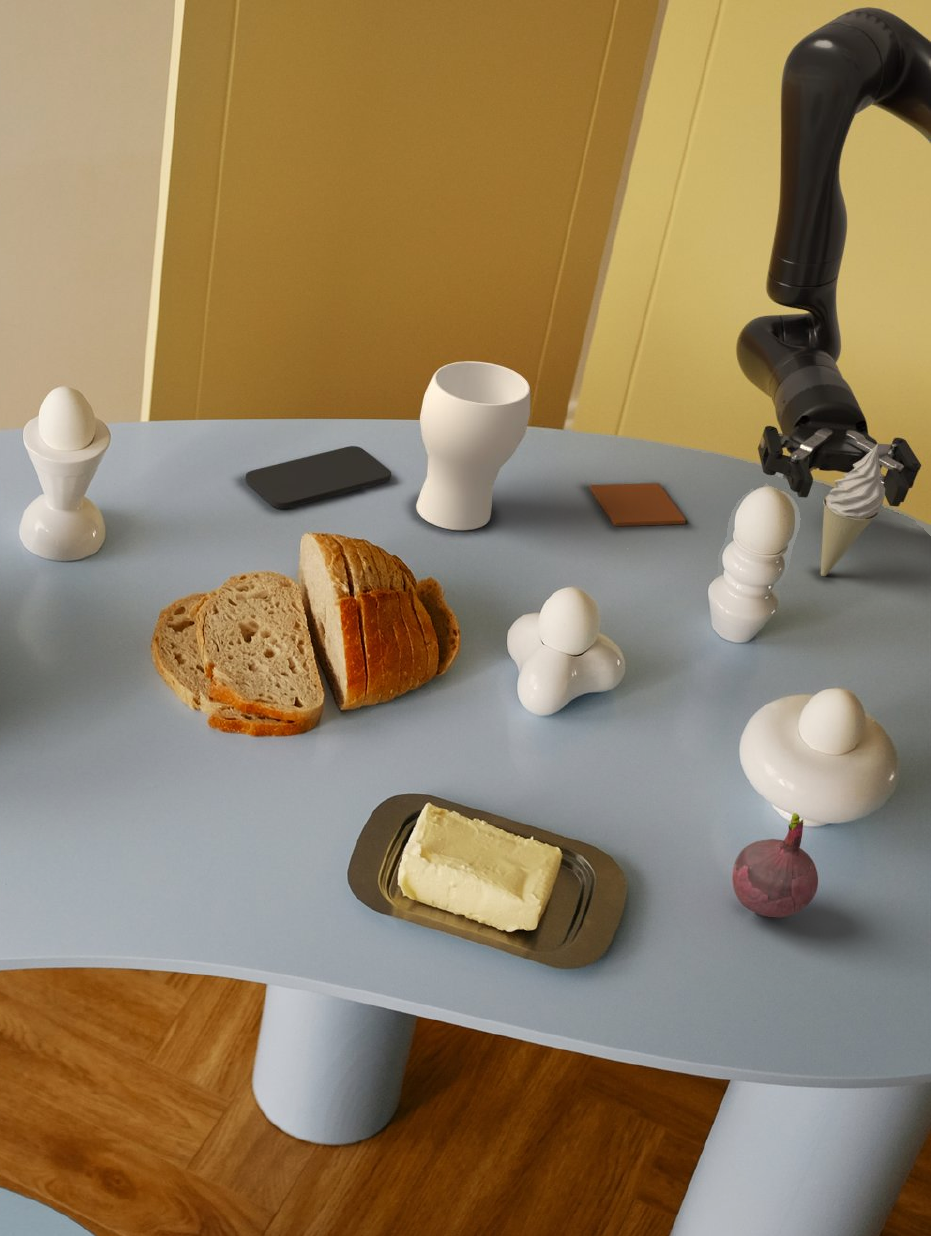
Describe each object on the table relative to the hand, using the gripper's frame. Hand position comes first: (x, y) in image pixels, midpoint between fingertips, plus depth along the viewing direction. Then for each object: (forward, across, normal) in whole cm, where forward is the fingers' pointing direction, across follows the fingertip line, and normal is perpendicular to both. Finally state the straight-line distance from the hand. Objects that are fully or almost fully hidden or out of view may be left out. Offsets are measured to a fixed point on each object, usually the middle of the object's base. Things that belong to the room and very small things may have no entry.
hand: (852, 494), depth 161 cm
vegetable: (+52, -15, +9) cm, 55 cm away
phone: (-8, -51, +9) cm, 52 cm away
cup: (-5, -36, +9) cm, 38 cm away
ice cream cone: (+1, 0, +9) cm, 9 cm away
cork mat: (-10, -17, +9) cm, 21 cm away
